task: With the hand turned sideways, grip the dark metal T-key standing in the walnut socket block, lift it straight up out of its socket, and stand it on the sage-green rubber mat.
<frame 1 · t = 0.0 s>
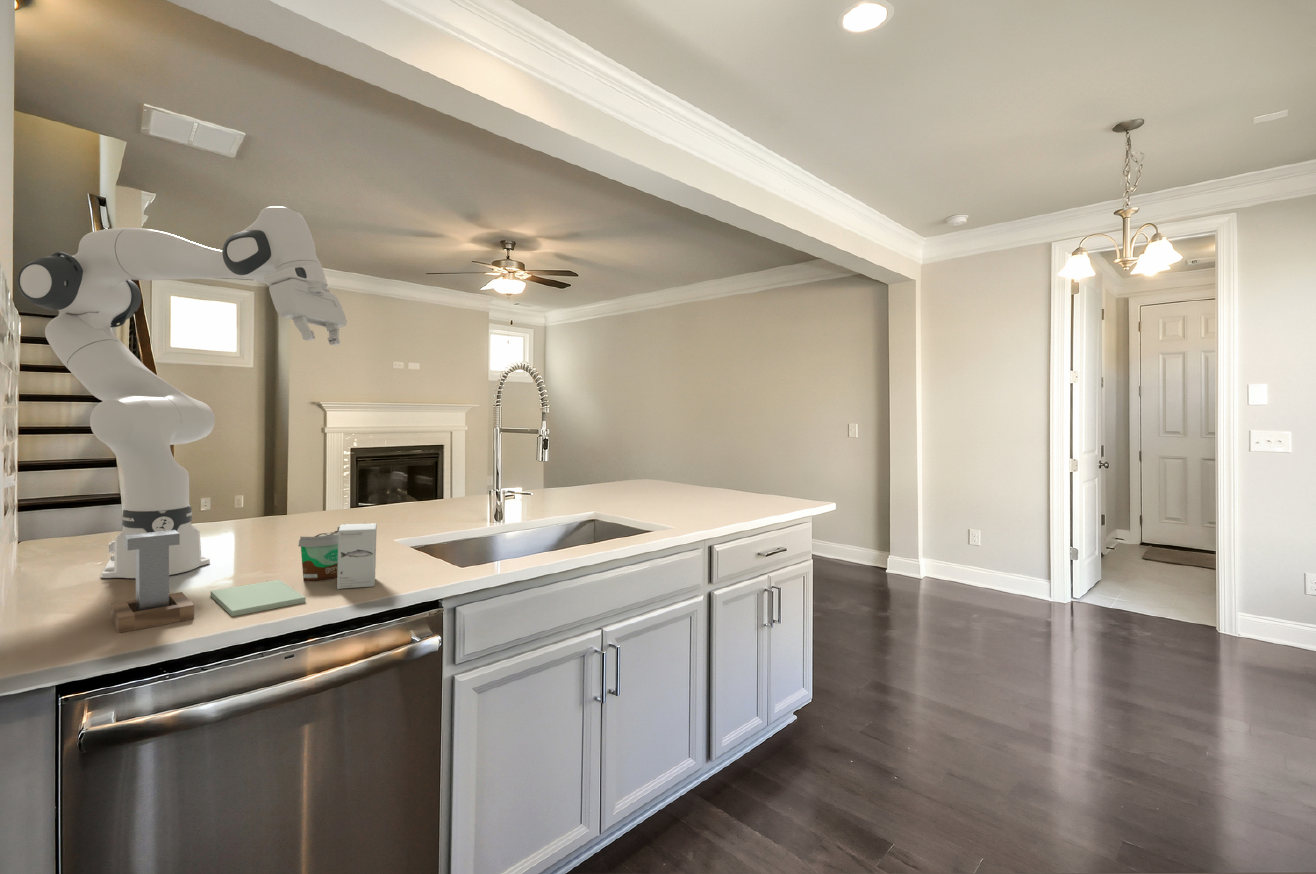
hand: (322, 342, 132), 52 cm above the worktop, tool tilted 20°, fingers open, 8 cm apart
food container: (331, 577, 135), on the worktop
t-key: (152, 576, 107), in the socket block
supplement box: (357, 584, 131), on the worktop
green mat: (257, 599, 119), on the worktop
socket block: (152, 618, 107), on the worktop
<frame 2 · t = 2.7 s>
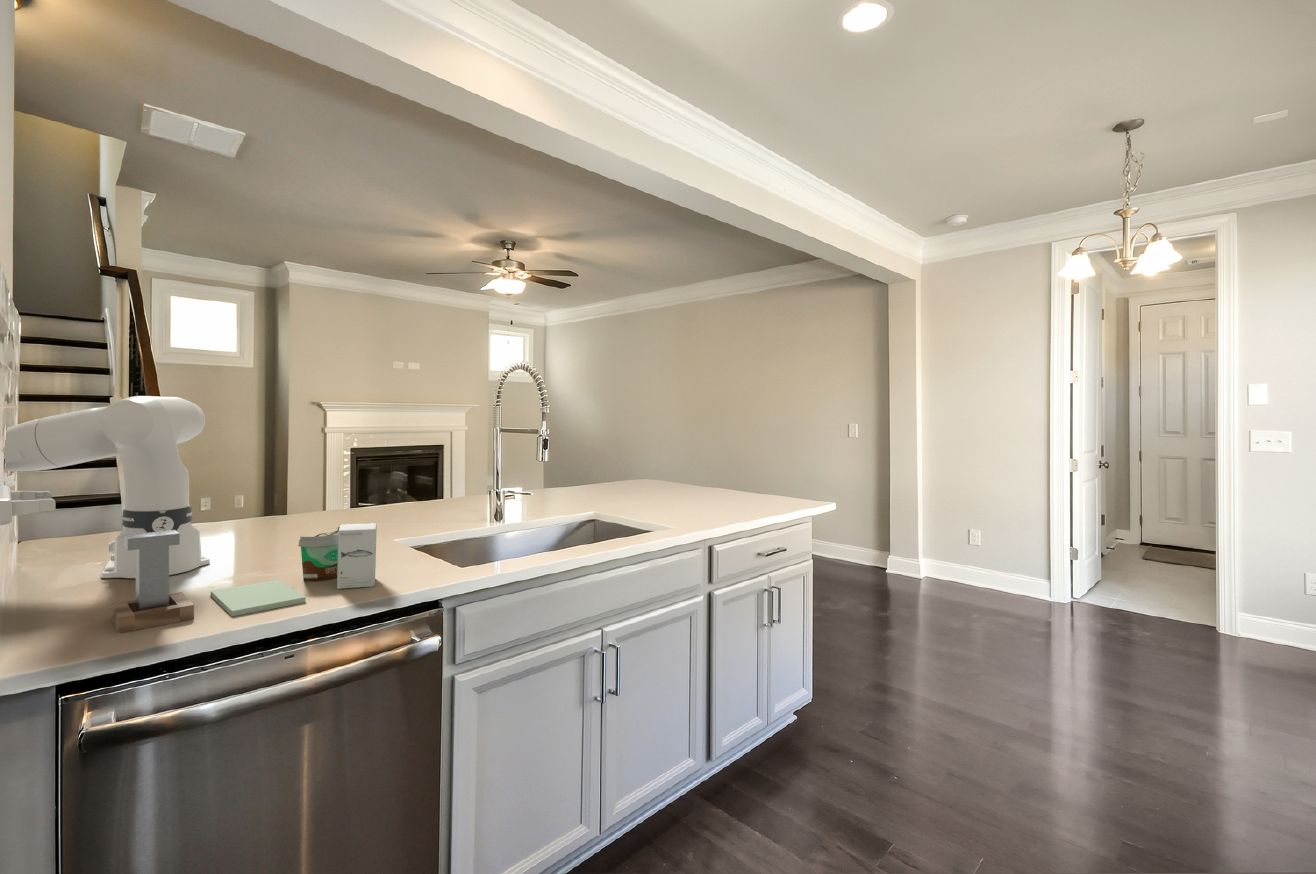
hand: (53, 500, 97), 22 cm above the worktop, tool horizontal, fingers open, 8 cm apart
nothing on the worktop moved.
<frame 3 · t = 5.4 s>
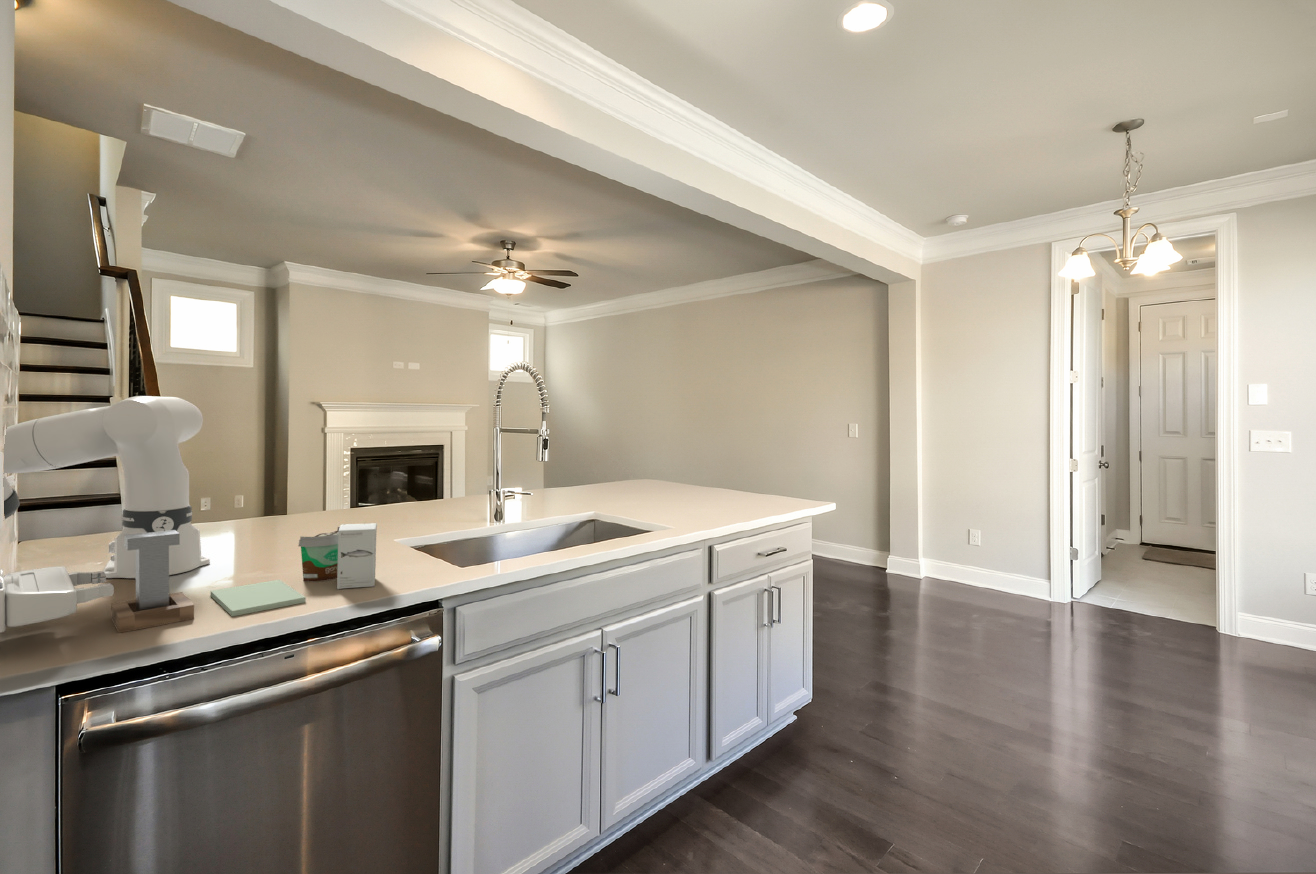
hand: (109, 582, 102), 8 cm above the worktop, tool horizontal, fingers open, 8 cm apart
nothing on the worktop moved.
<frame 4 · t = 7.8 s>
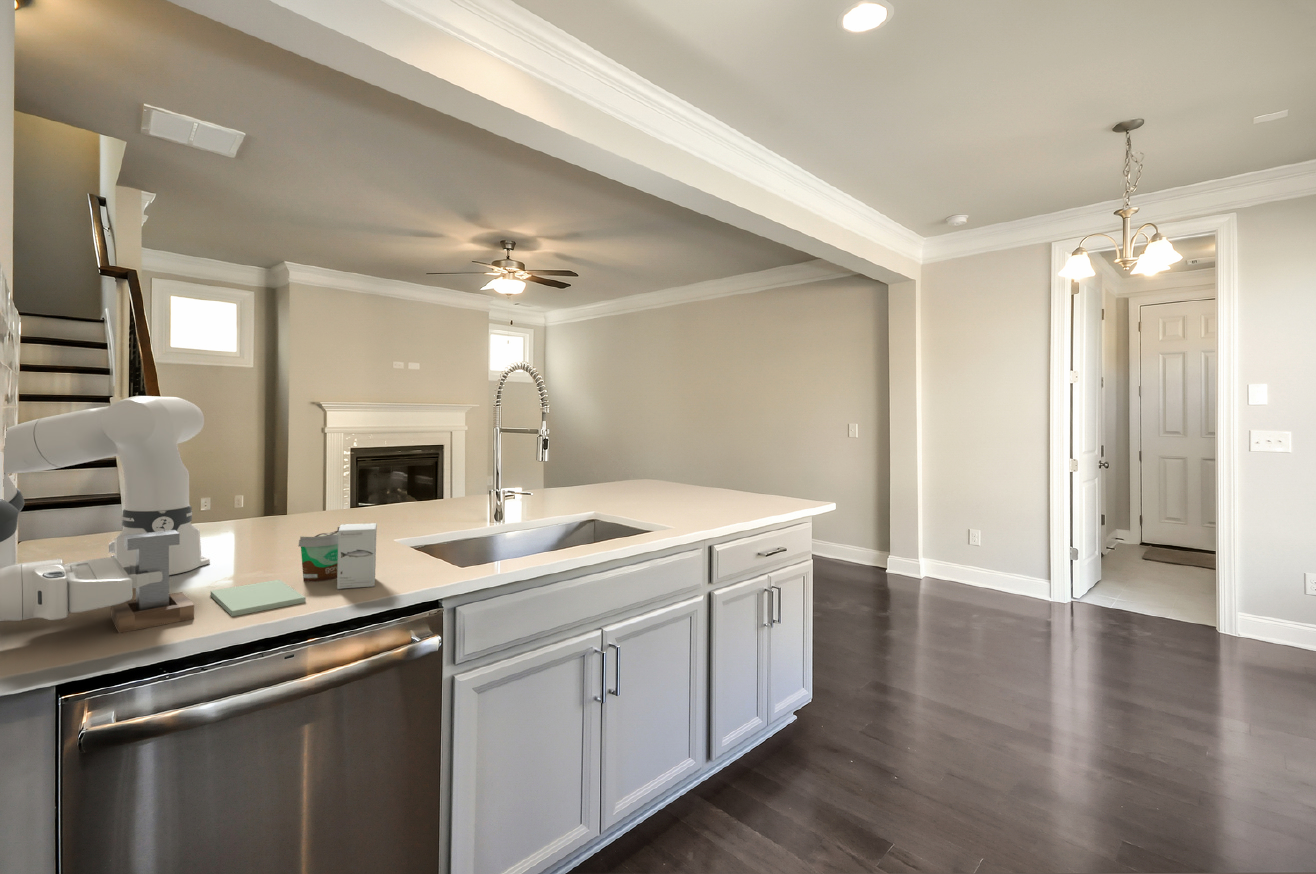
hand: (158, 572, 107), 8 cm above the worktop, tool horizontal, fingers closed on t-key, 4 cm apart
t-key: (152, 576, 107), in the socket block, touching gripper
everything else where it was.
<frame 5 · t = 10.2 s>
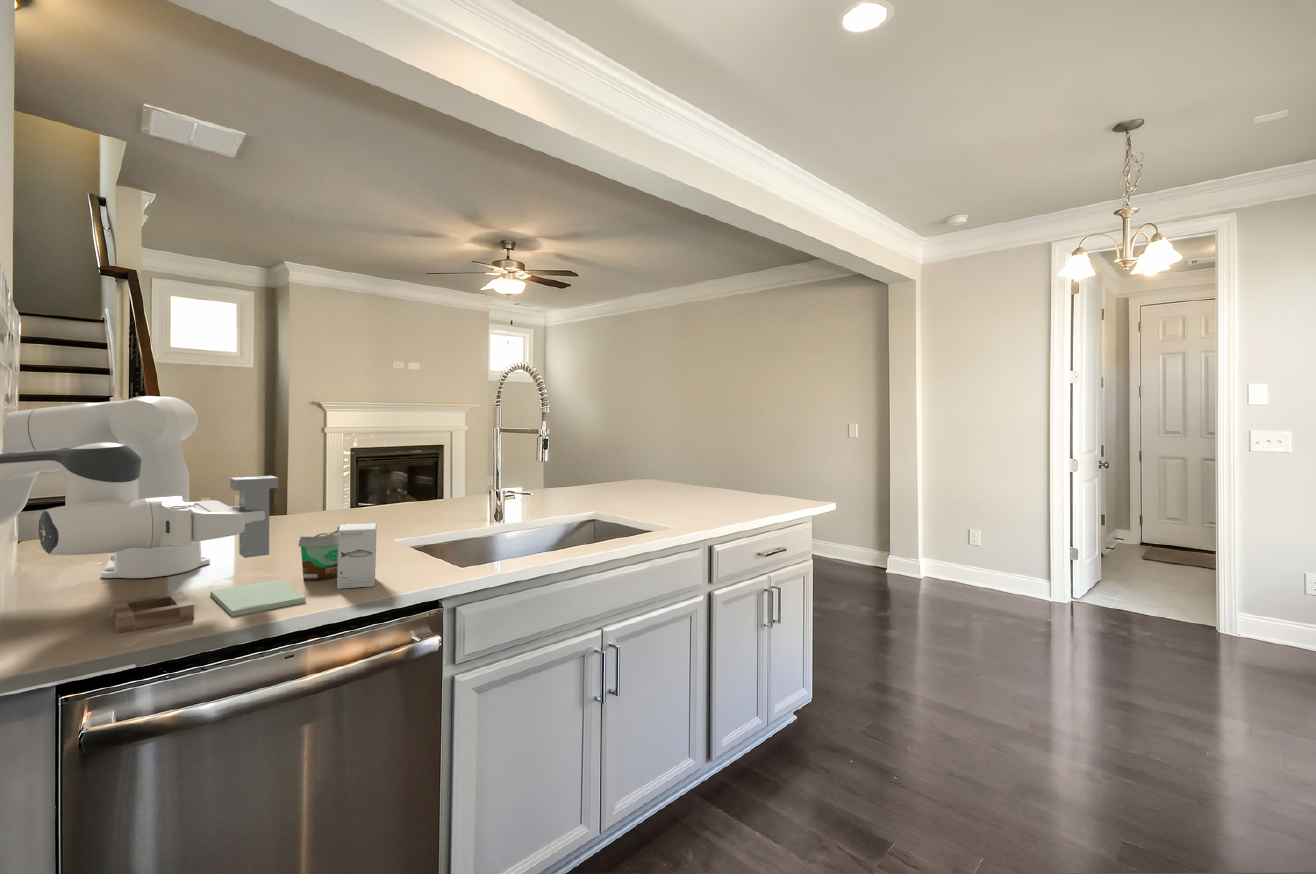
hand: (259, 512, 118), 17 cm above the worktop, tool horizontal, fingers closed on t-key, 4 cm apart
t-key: (254, 516, 117), point 16 cm above the worktop, touching gripper
everything else where it was.
when the fingers open (10 cm above the worktop, at t = 12.7 s): t-key stays where it is, resting on green mat.
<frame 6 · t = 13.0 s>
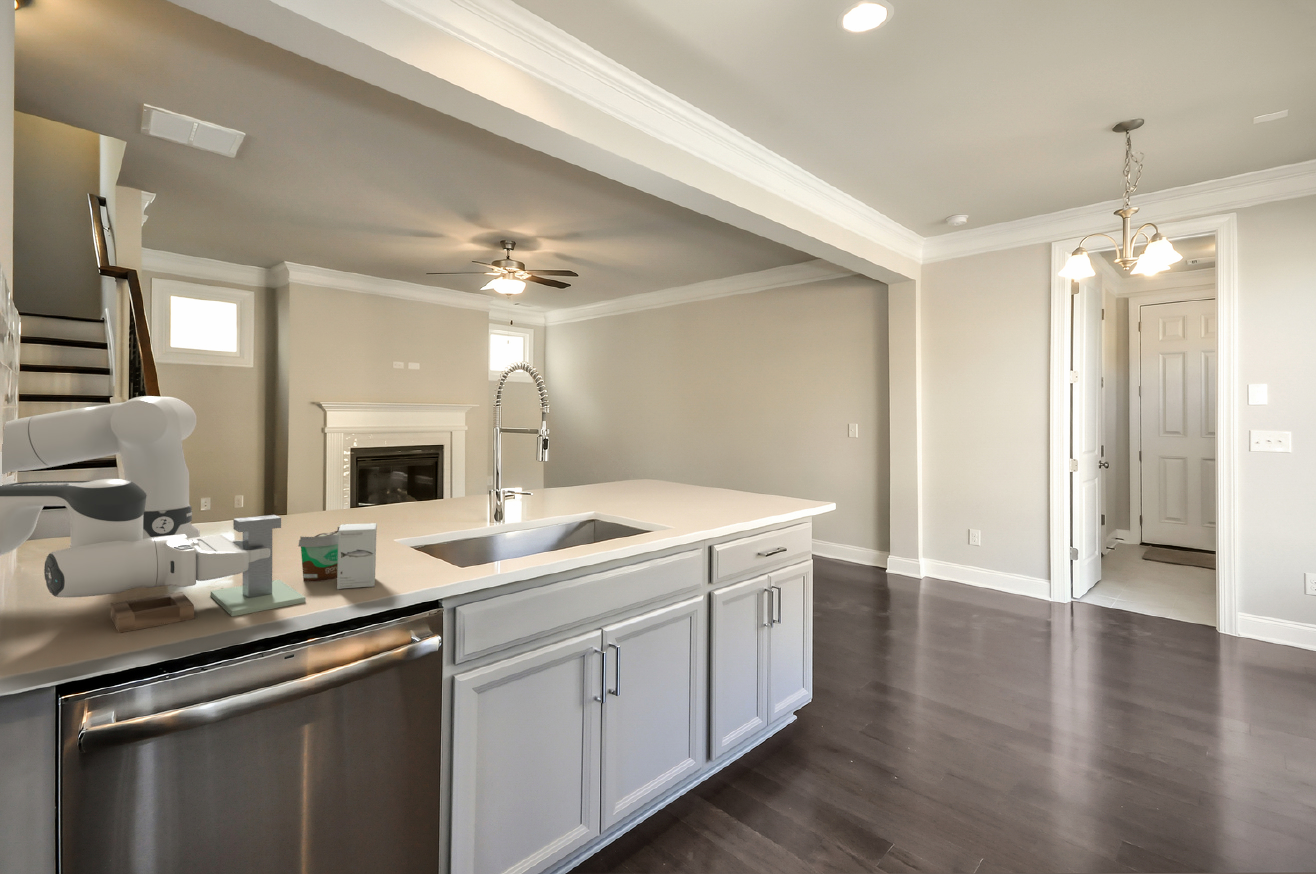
hand: (263, 548, 119), 10 cm above the worktop, tool horizontal, fingers open, 7 cm apart
t-key: (257, 556, 118), on the green mat, point 8 cm above the worktop
everything else where it was.
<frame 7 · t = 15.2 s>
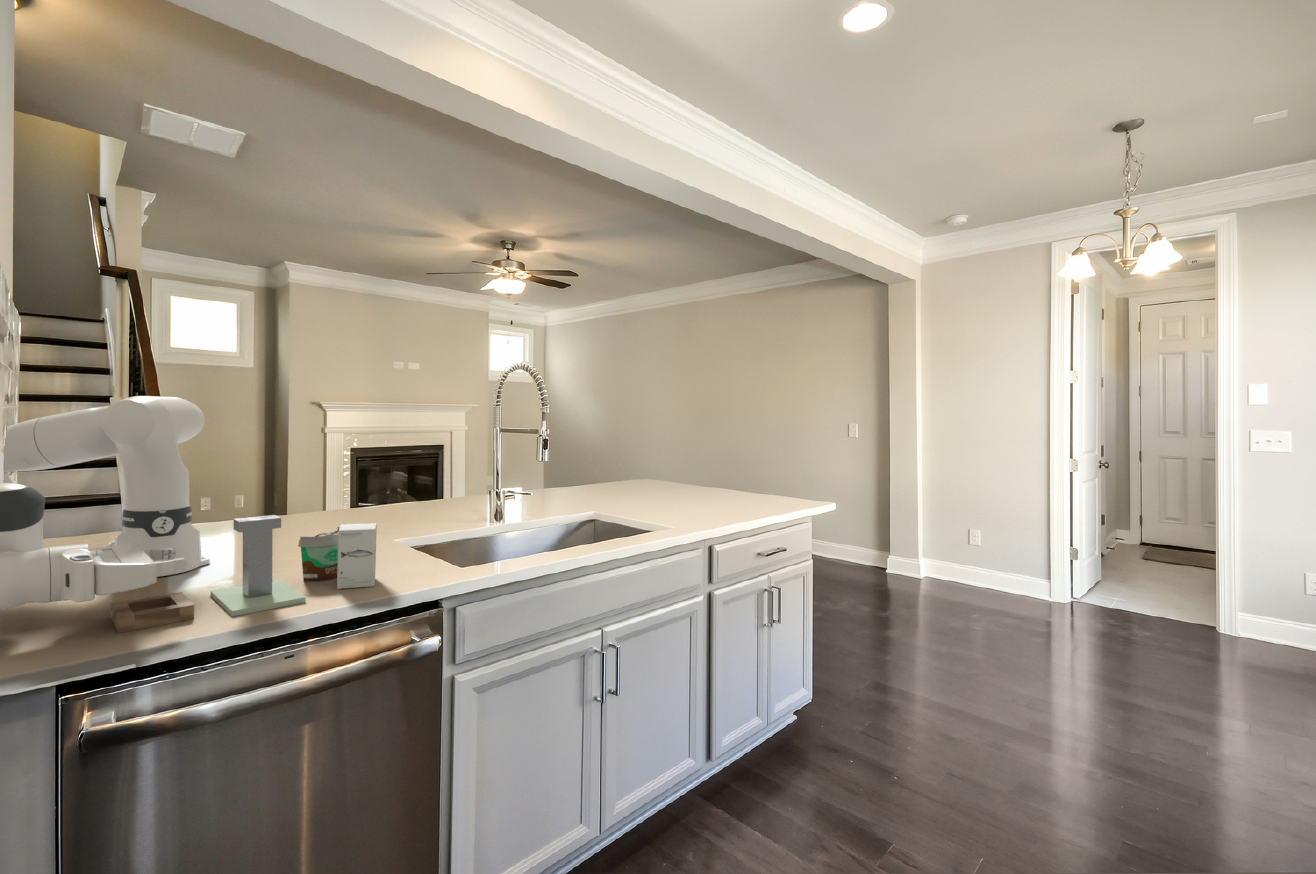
hand: (180, 558, 109), 10 cm above the worktop, tool horizontal, fingers open, 8 cm apart
nothing on the worktop moved.
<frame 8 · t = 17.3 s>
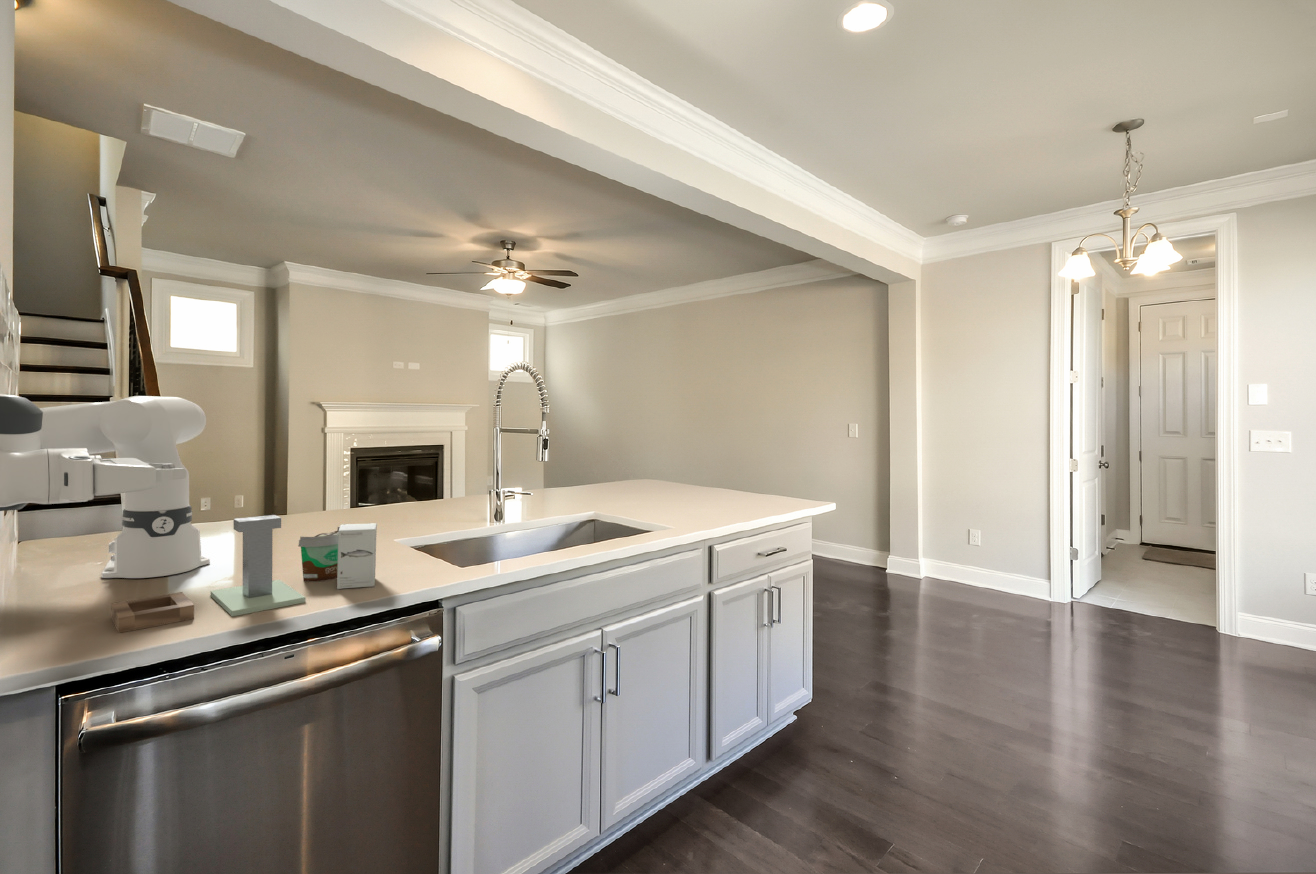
hand: (179, 470, 109), 26 cm above the worktop, tool horizontal, fingers open, 8 cm apart
nothing on the worktop moved.
at the end: t-key inside the target area (0.0 cm from its centre), point 8.5 cm above the worktop; t-key tilted 0°; the gripper is holding nothing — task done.
